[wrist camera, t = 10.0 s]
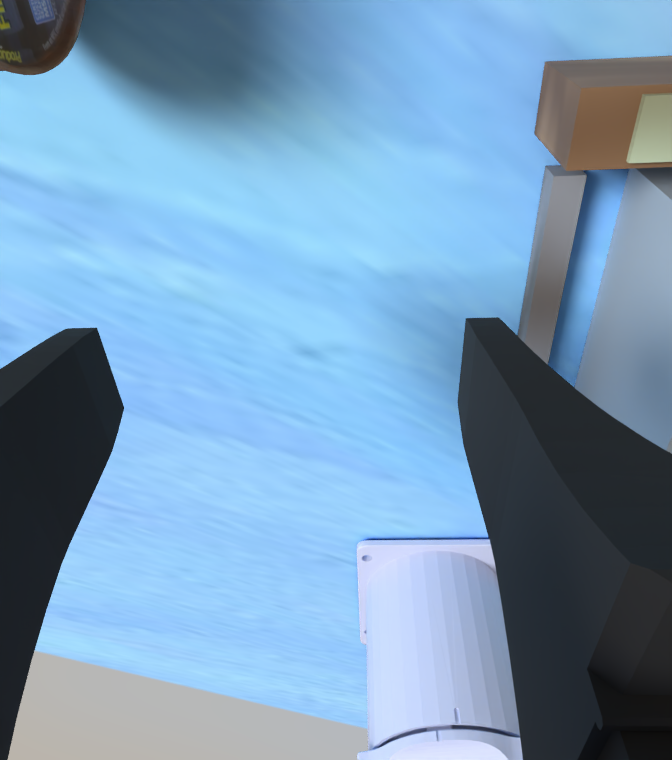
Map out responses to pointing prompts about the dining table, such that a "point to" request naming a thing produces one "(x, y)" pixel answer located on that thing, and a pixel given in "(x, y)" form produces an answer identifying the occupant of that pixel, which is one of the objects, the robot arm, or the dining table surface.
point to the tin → (37, 33)
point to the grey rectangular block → (635, 313)
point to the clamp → (588, 161)
